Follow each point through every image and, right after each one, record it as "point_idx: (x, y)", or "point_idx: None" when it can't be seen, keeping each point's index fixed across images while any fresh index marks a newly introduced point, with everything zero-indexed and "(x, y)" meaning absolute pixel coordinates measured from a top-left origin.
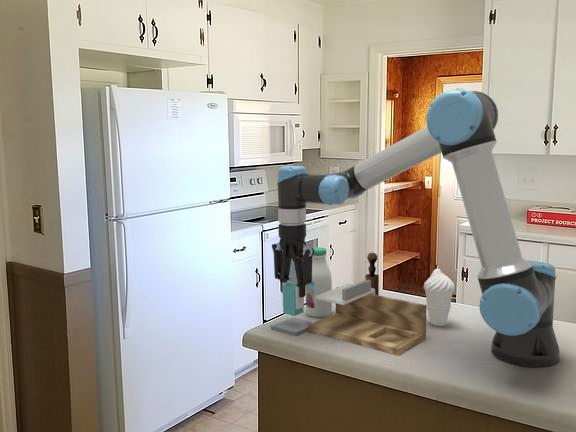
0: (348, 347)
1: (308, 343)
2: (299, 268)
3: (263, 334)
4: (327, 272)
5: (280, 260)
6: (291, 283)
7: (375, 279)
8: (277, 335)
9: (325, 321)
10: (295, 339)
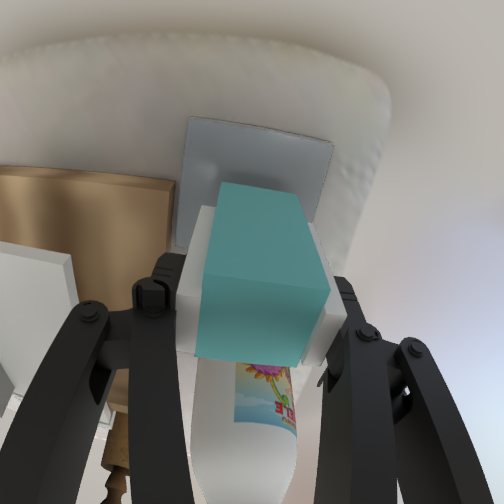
0: (3, 138)
1: (109, 81)
2: (130, 452)
3: (328, 74)
4: (194, 470)
5: (421, 489)
6: (287, 348)
7: (102, 457)
8: (268, 87)
9: (136, 256)
10: (174, 86)
